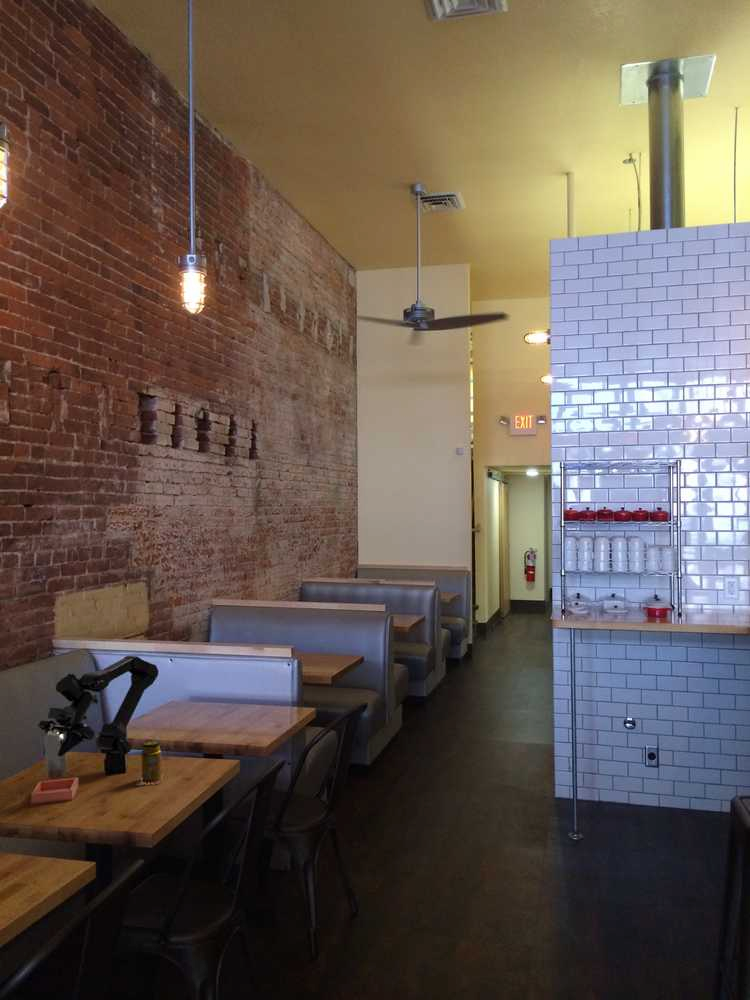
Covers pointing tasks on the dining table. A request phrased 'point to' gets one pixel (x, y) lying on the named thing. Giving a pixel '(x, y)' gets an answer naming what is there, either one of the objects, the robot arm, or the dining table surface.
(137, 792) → the dining table surface
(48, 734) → the pebble tin
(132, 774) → the dining table surface
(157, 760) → the condiment
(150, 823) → the dining table surface
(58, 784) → the dish
